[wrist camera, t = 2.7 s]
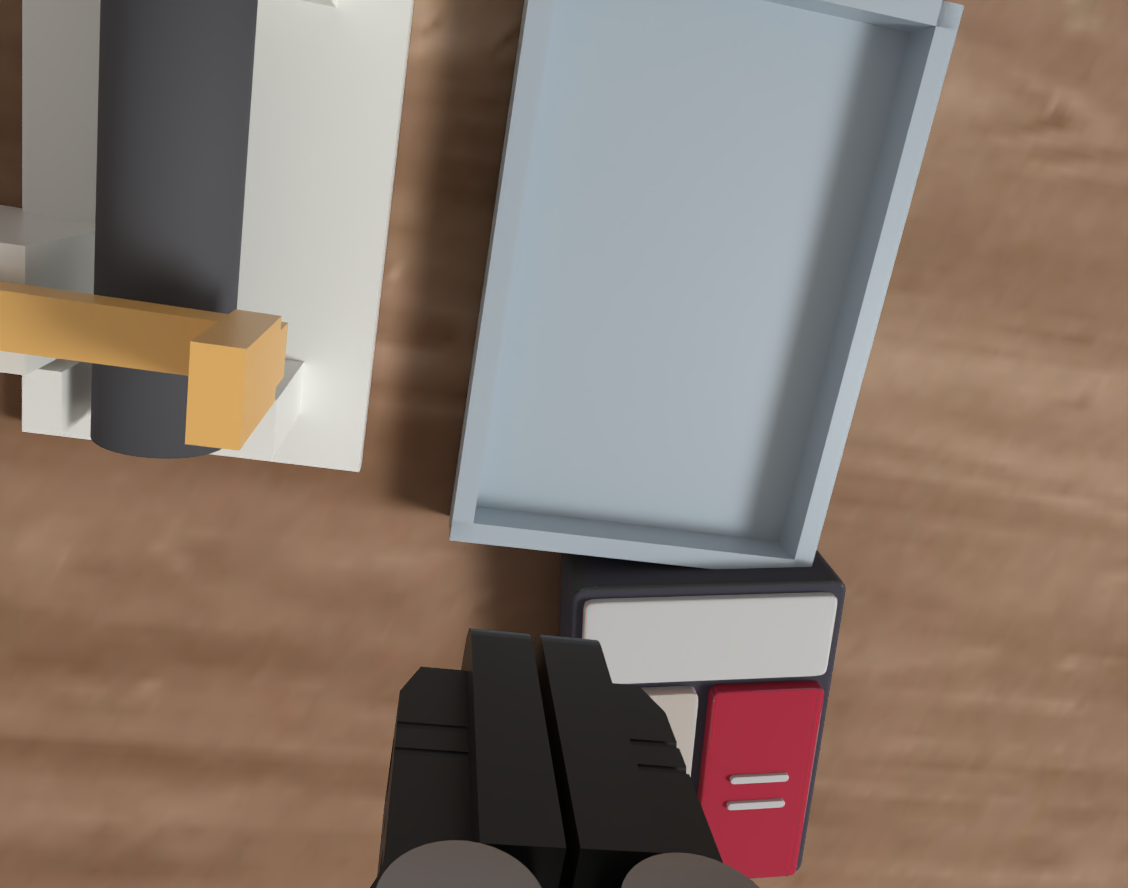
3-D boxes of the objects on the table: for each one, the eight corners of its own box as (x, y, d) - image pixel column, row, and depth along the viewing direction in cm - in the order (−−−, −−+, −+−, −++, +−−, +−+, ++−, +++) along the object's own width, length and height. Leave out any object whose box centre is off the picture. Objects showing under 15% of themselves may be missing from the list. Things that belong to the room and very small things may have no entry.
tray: (534, -73, 31) (541, -91, 28) (928, 15, 33) (964, 5, 31) (449, 516, 37) (449, 540, 34) (787, 554, 39) (808, 579, 37)
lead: (133, -122, 26) (78, -170, 22) (277, -91, 27) (248, -132, 23) (116, 411, 30) (69, 448, 27) (240, 427, 31) (210, 465, 27)
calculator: (561, 905, 39) (574, 599, 34) (551, 830, 43) (561, 545, 38) (807, 888, 40) (856, 590, 35) (775, 816, 44) (815, 540, 39)
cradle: (-142, -231, 27) (-371, -381, 20) (425, -104, 30) (417, -191, 22) (-114, 405, 33) (-284, 480, 25) (361, 463, 36) (337, 547, 28)
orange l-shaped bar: (-186, 238, 23) (-372, 263, 18) (289, 308, 25) (246, 349, 20) (-180, 329, 24) (-358, 378, 19) (282, 390, 26) (239, 450, 21)
